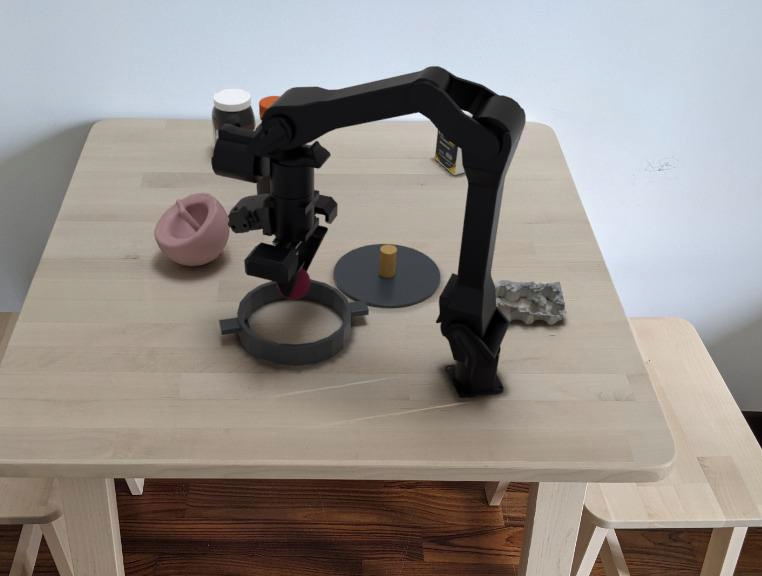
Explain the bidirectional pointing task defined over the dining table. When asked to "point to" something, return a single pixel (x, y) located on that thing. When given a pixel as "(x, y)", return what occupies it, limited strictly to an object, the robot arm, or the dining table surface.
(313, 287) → the pot
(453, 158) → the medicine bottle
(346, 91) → the robot arm
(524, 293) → the egg carton
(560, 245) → the dining table surface
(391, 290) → the pot lid
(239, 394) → the dining table surface
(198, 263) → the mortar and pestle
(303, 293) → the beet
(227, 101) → the spread jar
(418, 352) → the dining table surface
